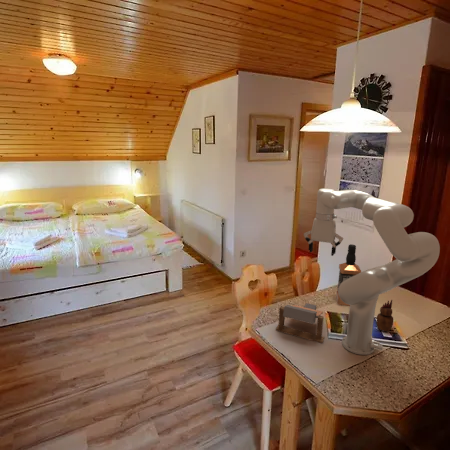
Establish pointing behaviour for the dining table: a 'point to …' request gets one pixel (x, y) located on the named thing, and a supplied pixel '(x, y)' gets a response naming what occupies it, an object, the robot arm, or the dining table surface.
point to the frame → (299, 333)
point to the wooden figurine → (385, 317)
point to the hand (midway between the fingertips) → (321, 253)
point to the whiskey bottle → (347, 270)
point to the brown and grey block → (301, 313)
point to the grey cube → (310, 306)
